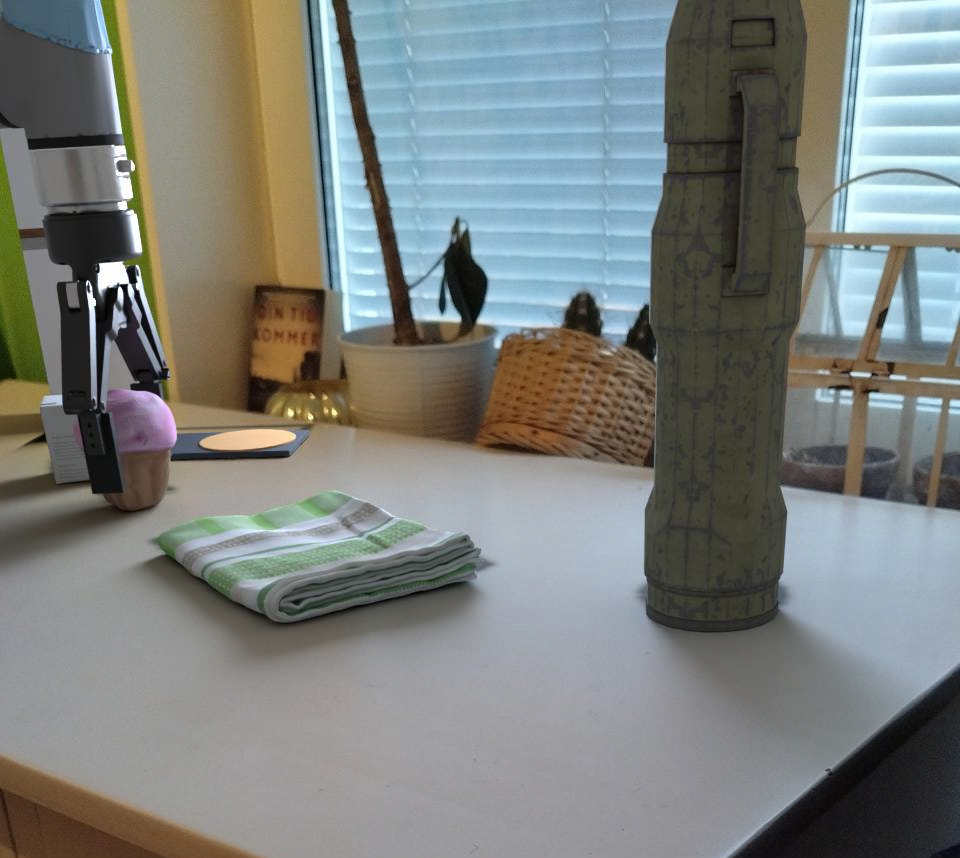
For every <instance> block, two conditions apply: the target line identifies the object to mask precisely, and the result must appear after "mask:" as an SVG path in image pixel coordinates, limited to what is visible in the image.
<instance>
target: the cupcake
mask: <svg viewBox="0 0 960 858" xmlns="http://www.w3.org/2000/svg"><path fill="white" fill-rule="evenodd" d="M107 411H112V415H113V421H114V426H115V432H116V437H117V443H118V449H119V454H120V460H121V465H122V471H123V476H124V482H125V487H126V491H125V492H124V493H109V494H102V495H103V497H104V499H105V500H106V501H107V502H108V503H109V504H111V505H113V506H115V507H117V508H118V509H119V510H122V511H128V512H135V511H140V510H144V509H147V508H149V507H152V506H156V505H159V504H160V503H161V502H162V501H163V500H164V498H165V497H166V495H167V492H168V486H169V480H170V472H171V459H170V457H171V452H170V449H171V448H172V447H173V446H174V445H175V442H176V439H177V433H178V432H177V426H176V422H175V419H174V418H175V417H174V415H173V412H172V411H171V409H170V408H169V406H168V405H167V403H166V402H165V400H164V401H163V400H162V399H161V398H160V397H158V396H157V395H155V394H153V393H150V392H147V391H132V390H123V389H111V390H109V391H107V403H106V412H107ZM73 430H74V436H75V440H76V443H77V444H78V446H79V448H80V449H81V450H82V451H83V452H84V448H83V443H82V438H81V433H80V428H79V422H78V417H77V419H76V420H75V422H74V424H73Z"/></svg>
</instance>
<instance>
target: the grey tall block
mask: <svg viewBox="0 0 960 858" xmlns="http://www.w3.org/2000/svg"><path fill="white" fill-rule="evenodd" d="M0 142H1V147H2V153H3V158H4V163H5V168H6V174H7V179H8V184H9V188H10V193H11V199H12V204H13V210H14V214H15V221H16V223H17V224H16V225H17V230H18V234H19V240H20V245H21V250H22V251H21V252H22V255H23V260H24V266H25V271H26V276H27V280H28V286H29V291H30V296H31V302H32V306H33V312H34V316H35V322H36V326H37V327H36V328H37V332H38V336H39V343H40V348H41V352H42V357H43V363H44V368H45V373H46V378H47V379H46V380H47V383H48V389H49V395H50V396H51V395H62V369H61V321H60V307H59V301H58V294H57V282H65V281H72V269H71V267H70V266H69V265H57V264H54V263H53V262H52V261H51V260H50V258H49V254H48V249H47V244H46V239H45V233H44V228H43V223H42V220H43V219H44V215H48V212H47V207H42V206H40V205H39V204H38V201H37V195H36V190H35V184H34V179H33V173H32V168H31V162H30V157H29V151H45V150H62V149H79V148H96V147H113V146H116V145H106V146H89V147H71V148H55V149H36V150H29V149H28V143H27V140H26V135H25V130H24V128H16V129H13V128H5V129H0ZM132 383H139V381H134V379H133V377H132V375H131V373H130V371H129V369H128V367H127V365H126V363H125V361H124V359H123V357H122V355H121V353H120V351H119V349H118V347H117V345H116V343H115V341H114V340H113V341H112V342H111V352H110V365H109V378H108V390H107V391H109V390H111V389H123V390H131V388H130V384H132Z"/></svg>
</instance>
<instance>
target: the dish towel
mask: <svg viewBox="0 0 960 858" xmlns="http://www.w3.org/2000/svg"><path fill="white" fill-rule="evenodd" d="M156 542H157V545H158V546H159V548H160V550H162V551H163V552H164V553H165V554H166V555H167V556H169V557H171V558H172V559H173V560H175V561H176V562H178V563H179V564H180V565H182V566H183V567H184V568H185V570H187V572H188V573H189V574H190V575H192V576H194V577H196V578H200V579H201V580H203V581H205V582H206V583H207V584H208V585H209V586H211V587H212V588H213V589H215V590H216V591H217V592H219V593H220V594H222V595H223V596H224V597H226V598H227V599H228V600H230V601H232V602H234V603H237V604H240V605H243V606H244V607H246V608H248V609H250V610H253V611H254V612H257V613H258V614H262V615H265V616H266V617H267V618H269V619H270V620H271V621H273V622H276V623H284V624H285V623H294V622H299V621H303V620H306V619H311V618H315V617H319V616H323V615H327V614H330V613H332V612H333V613H334V612H336V611H337V612H338V611H342V610H344V609H348V608H351V607H354V606H359V605H367V604H372V603H375V602H380V601H384V600H388V599H393V598H397V597H402V596H406V595H410V594H412V593H416V592H421V591H429V590H434V589H437V588H440V587H442V586H445V585H448V584H453V583H459V582H460V583H461V582H467V581H468V582H469V581H473V580H477V579H478V577H479V575H478V574H477V573H476V570H477V568H478V566H482V565H483V564H484V563H485V561H484V560H483V558H481V557H480V555H481V553H482V548H481V547H475V542H474V541H473V540H472V539H471V536H470V534H469V533H466V532H462V531H461V532H460V531H459V532H449V531H445V530H443V529H442V530H439V529H433V528H432V527H429V526H428V525H425V524H423V523H420V522H417V521H415V520H412V519H407V518H400V517H398V516H396V515H394V514H391V513H390V512H388V511H386V510H385V509H382V508H381V507H380V506H378V505H376V504H374V503H372V502H370V501H366V500H363V499H360V498H358V497H355V496H352V495H350V494H346V493H344V492H341V491H337V490H336V489H335V490H333V489H332V490H327V491H324V492H320V493H318V494H317V493H316V494H314V495H312V496H310V497H308V498H305V499H303V500H300V501H297V502H294V503H289V504H285V505H282V506H278V507H275V508H271V509H267V510H265V511H262V512H259V513H256V514H252V515H243V514H232V515H217V516H205V517H199V518H196V519H192V520H189V521H186V522H182V523H180V524H177V525H174V526H172V527H170V528H168V529H166V530H165V531H163V532H162V533H160V534H159V535H158V536H157V539H156Z"/></svg>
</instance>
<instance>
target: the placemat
mask: <svg viewBox="0 0 960 858" xmlns="http://www.w3.org/2000/svg"><path fill="white" fill-rule="evenodd" d="M309 436H310V430H309V429H292V430H291V429H289V430H285V429H273V428H258V429H257V428H255V429H253V428H252V429H241V430H234V431H220V432H219V431H217V432H216V431H215V432H214V431H213V432H184V433H183V432H182V433H178V432H177V439H176V442H175V445H174V446H173V447H172V453H173V455H172V456H171V457H170V460H199V459H200V460H201V458H207V459H229V458H228V457H231V458H230V459H234V458H233V457H238V458H237V459H240V458H239V457H246V458H266V457H265V456H284V457H291V456H292V454H294V452H295V451H296V450H298V449H299V447H300V446H301V445H302V444H303V443H304V442H305V441H306V440H307V439H308V438H309ZM306 438H307V439H306ZM305 439H306V440H305ZM304 440H305V441H304ZM303 441H304V442H303ZM302 442H303V443H302ZM301 443H302V444H301ZM300 444H301V445H300ZM299 445H300V446H299ZM290 455H291V456H290Z"/></svg>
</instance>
